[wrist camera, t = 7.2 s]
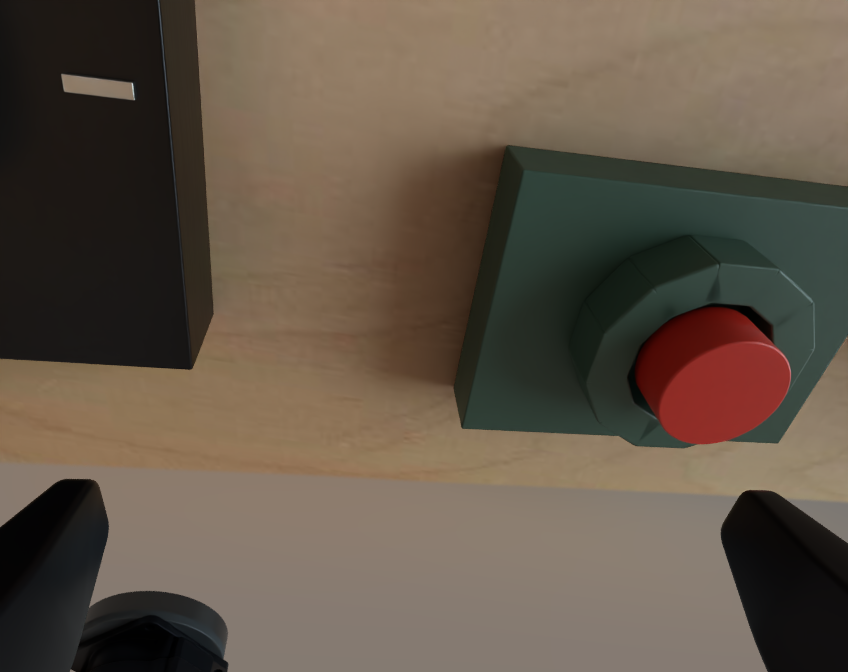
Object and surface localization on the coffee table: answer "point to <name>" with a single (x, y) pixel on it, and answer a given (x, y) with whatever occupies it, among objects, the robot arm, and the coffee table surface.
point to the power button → (711, 375)
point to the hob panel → (102, 184)
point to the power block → (641, 287)
